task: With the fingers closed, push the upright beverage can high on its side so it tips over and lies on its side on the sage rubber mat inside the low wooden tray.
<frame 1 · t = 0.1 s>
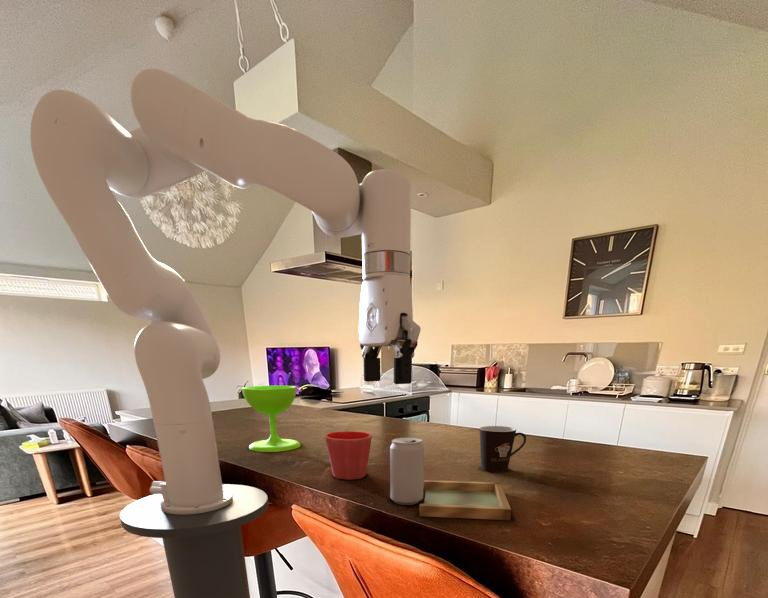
hand: (386, 382, 73), 22 cm above the countertop, tool pointing down, fingers open, 9 cm apart
wineglass: (275, 447, 133), on the countertop
wooden tray: (432, 501, 82), on the countertop
beverage can: (406, 501, 82), on the countertop
coffee mug: (500, 470, 105), on the countertop
flower pot: (350, 476, 100), on the countertop
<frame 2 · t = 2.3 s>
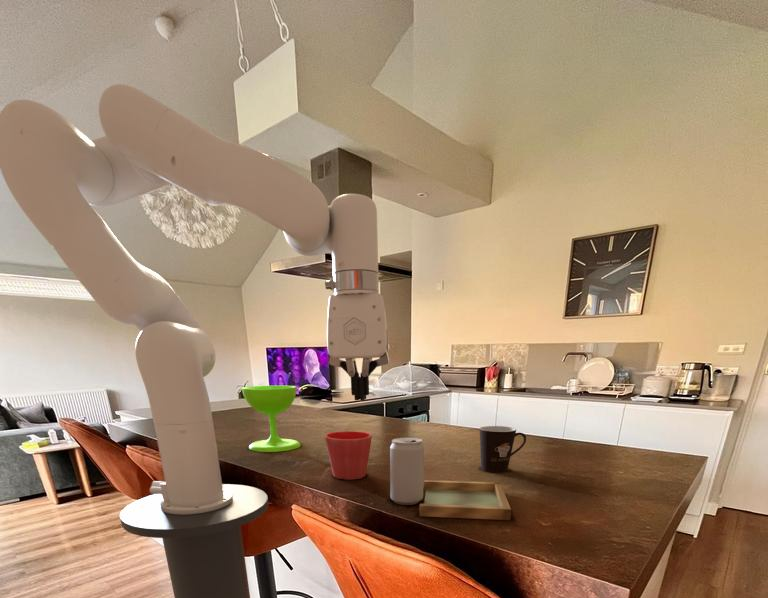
hand: (360, 399, 77), 19 cm above the countertop, tool pointing down, fingers closed
nothing on the countertop moved.
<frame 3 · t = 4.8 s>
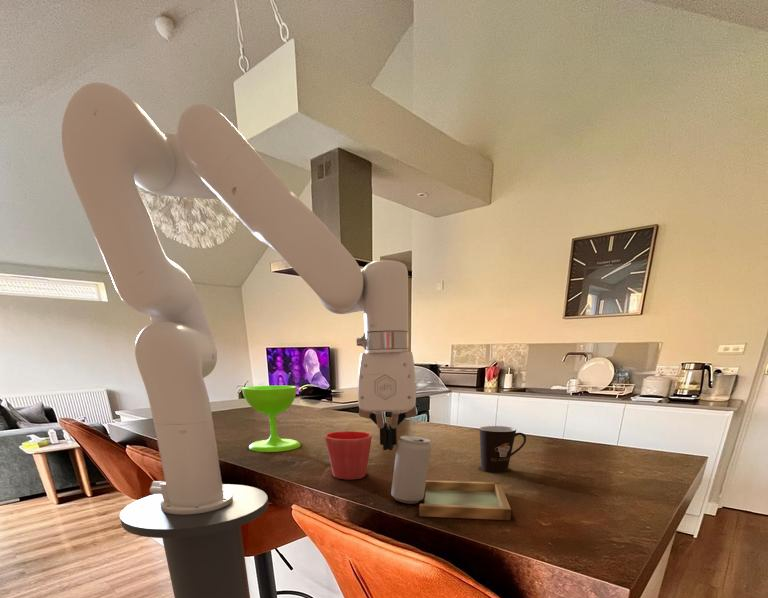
hand: (388, 448, 79), 10 cm above the countertop, tool pointing down, fingers closed
beverage can: (406, 499, 82), on the countertop, touching gripper
everything else where it was.
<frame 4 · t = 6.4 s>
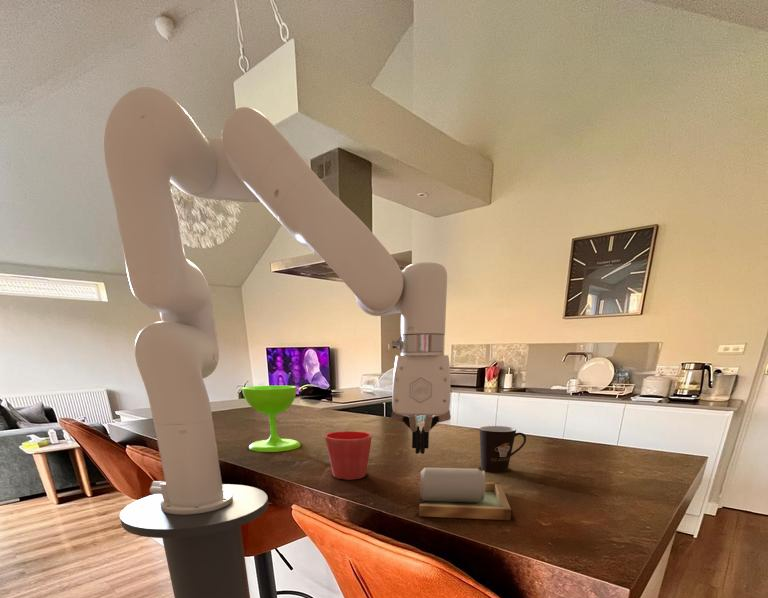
hand: (420, 452, 79), 10 cm above the countertop, tool pointing down, fingers closed
beverage can: (419, 483, 81), point 4 cm above the countertop, touching wooden tray
everything else where it was.
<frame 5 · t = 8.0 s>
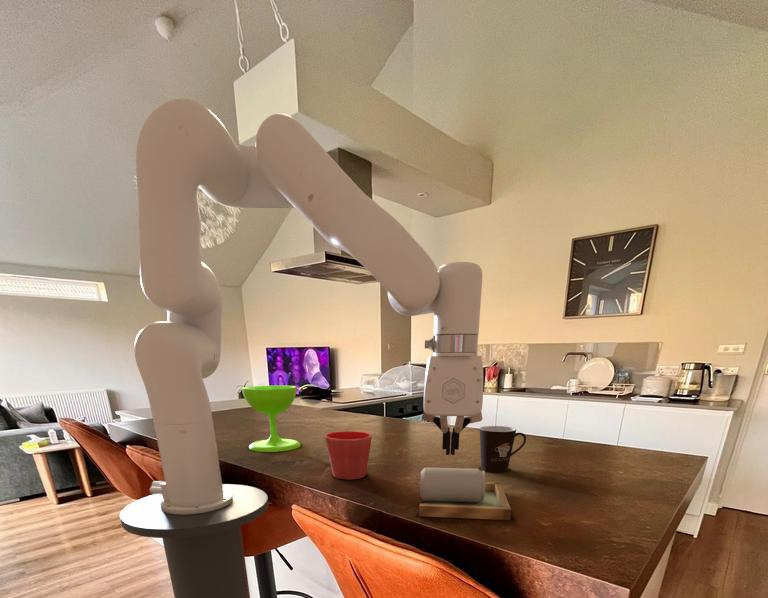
hand: (450, 453, 78), 10 cm above the countertop, tool pointing down, fingers closed
nothing on the countertop moved.
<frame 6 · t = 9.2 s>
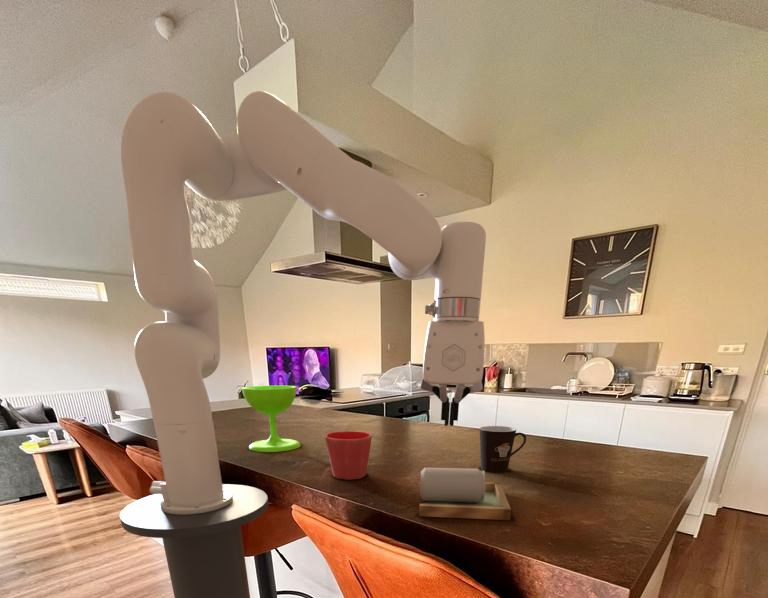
hand: (448, 424, 76), 15 cm above the countertop, tool pointing down, fingers closed
nothing on the countertop moved.
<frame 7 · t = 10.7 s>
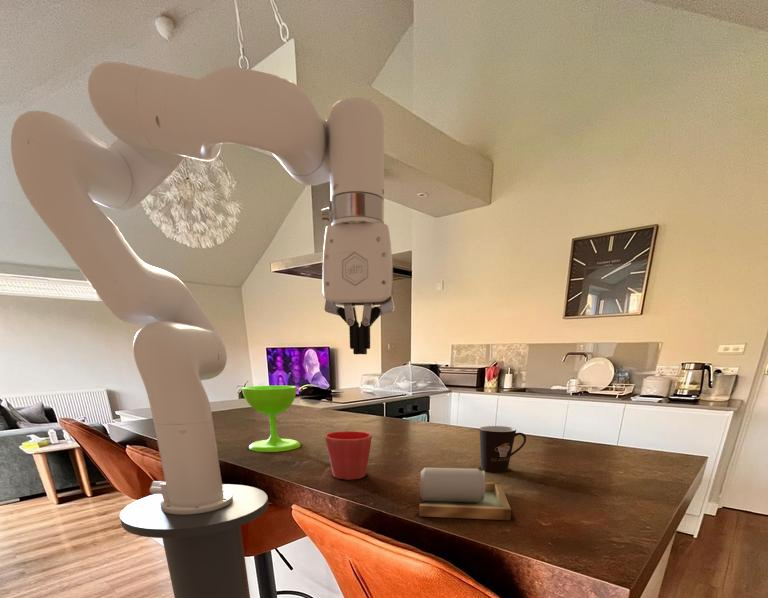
hand: (360, 353, 66), 27 cm above the countertop, tool pointing down, fingers closed
nothing on the countertop moved.
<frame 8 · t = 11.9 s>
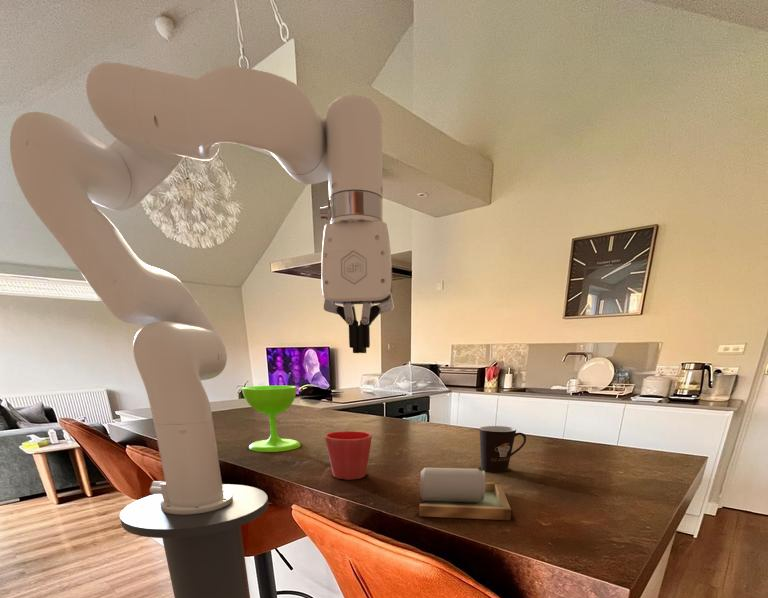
hand: (359, 352, 66), 27 cm above the countertop, tool pointing down, fingers closed
nothing on the countertop moved.
at the end: beverage can tilted 90°; beverage can inside the target area on the wooden tray (6.5 cm from its centre), point 3.5 cm above the wooden tray's base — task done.
